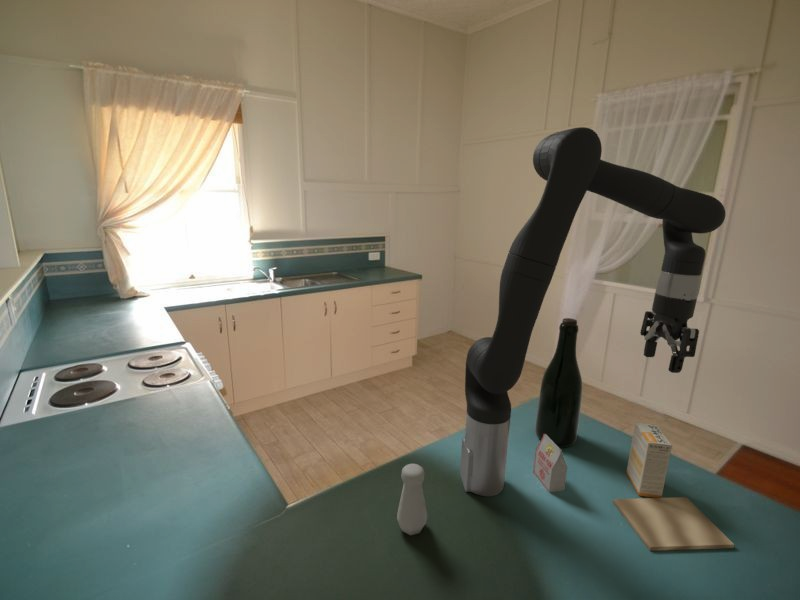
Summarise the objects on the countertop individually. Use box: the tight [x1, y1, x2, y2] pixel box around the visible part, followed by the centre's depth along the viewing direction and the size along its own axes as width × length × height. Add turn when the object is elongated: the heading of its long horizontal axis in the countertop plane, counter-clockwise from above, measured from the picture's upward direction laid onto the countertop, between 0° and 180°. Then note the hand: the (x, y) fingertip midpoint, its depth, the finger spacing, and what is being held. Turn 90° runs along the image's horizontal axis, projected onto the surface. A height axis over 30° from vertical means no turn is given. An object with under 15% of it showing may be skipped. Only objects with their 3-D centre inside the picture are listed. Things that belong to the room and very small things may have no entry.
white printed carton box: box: [532, 434, 568, 493], centre depth 90 cm, size 4×7×10 cm, turn 11°
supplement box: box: [626, 422, 673, 498], centre depth 89 cm, size 8×5×13 cm, turn 168°
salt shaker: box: [396, 463, 428, 536], centre depth 76 cm, size 6×6×13 cm
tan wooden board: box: [612, 496, 735, 552], centre depth 79 cm, size 16×12×1 cm
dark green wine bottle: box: [534, 317, 583, 448], centre depth 104 cm, size 10×10×33 cm
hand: (660, 364), depth 90 cm, fingers open, 8 cm apart
